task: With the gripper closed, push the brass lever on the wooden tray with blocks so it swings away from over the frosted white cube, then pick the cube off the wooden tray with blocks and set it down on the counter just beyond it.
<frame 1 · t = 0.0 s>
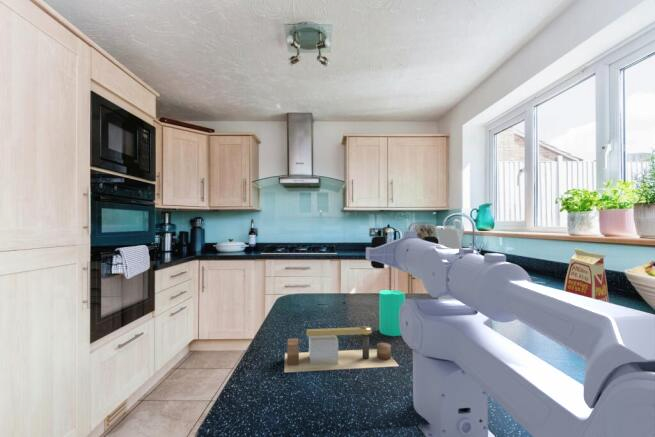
hand: (392, 247, 60), 22 cm above the countertop, tool horizontal, fingers open, 7 cm apart
milk carton: (587, 319, 87), on the countertop
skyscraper: (452, 328, 79), on the countertop
wooden tray with blocks: (339, 365, 56), on the countertop
frosted white cube: (323, 360, 56), point 1 cm above the countertop, touching wooden tray with blocks
candle: (392, 337, 72), on the countertop
lever: (339, 331, 56), point 6 cm above the countertop, hinge at 0.0°
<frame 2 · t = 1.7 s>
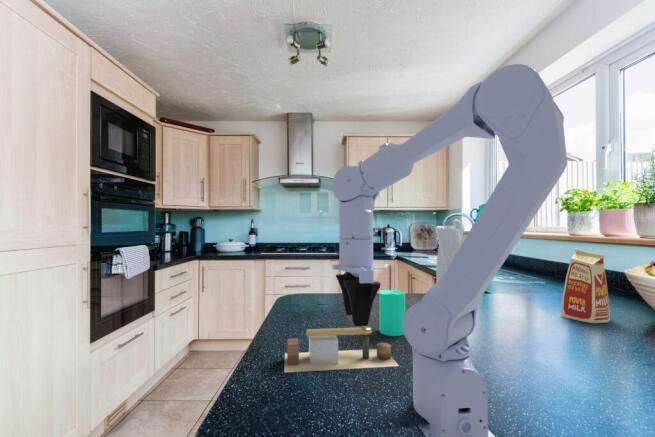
hand: (356, 319, 51), 10 cm above the countertop, tool pointing down, fingers open, 6 cm apart
nothing on the countertop moved.
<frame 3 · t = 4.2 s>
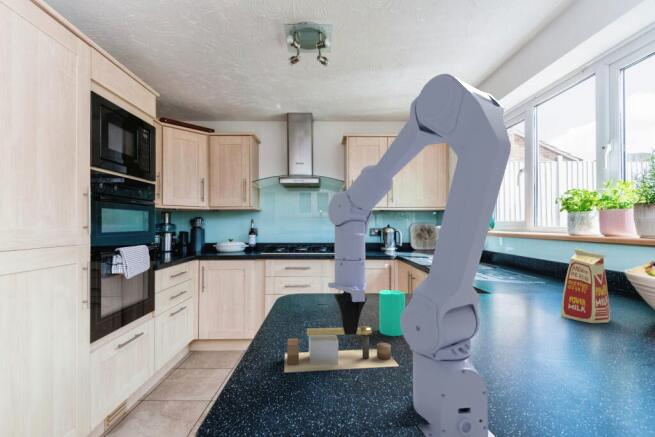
hand: (350, 333, 56), 6 cm above the countertop, tool pointing down, fingers closed, pressing on lever
lever: (339, 331, 57), point 6 cm above the countertop, hinge at 2.7°, touching gripper
everything else where it was.
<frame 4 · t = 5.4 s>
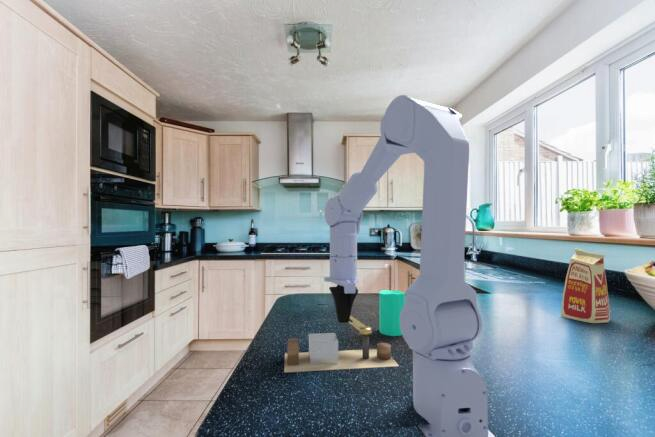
hand: (343, 322, 63), 6 cm above the countertop, tool pointing down, fingers closed, pressing on lever
lever: (355, 322, 62), point 6 cm above the countertop, hinge at 79.6°, touching gripper
everything else where it was.
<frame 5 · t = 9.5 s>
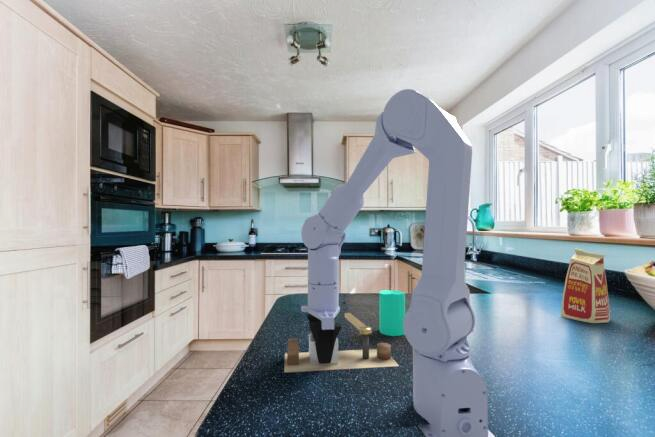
hand: (323, 357, 56), 2 cm above the countertop, tool pointing down, fingers closed on frosted white cube, 4 cm apart
frosted white cube: (323, 360, 56), point 1 cm above the countertop, touching gripper, wooden tray with blocks
lever: (356, 322, 62), point 6 cm above the countertop, hinge at 82.6°
everything else where it was.
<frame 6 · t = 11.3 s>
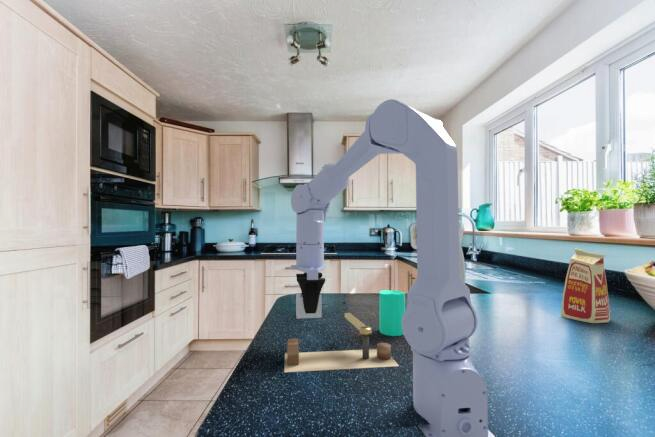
hand: (309, 310, 63), 9 cm above the countertop, tool pointing down, fingers closed on frosted white cube, 4 cm apart
frosted white cube: (308, 315, 63), point 8 cm above the countertop, touching gripper
everything else where it was.
when the fingers open (2 cm above the countertop, at t = 12.9 s): frosted white cube drops 1 cm, on the countertop.
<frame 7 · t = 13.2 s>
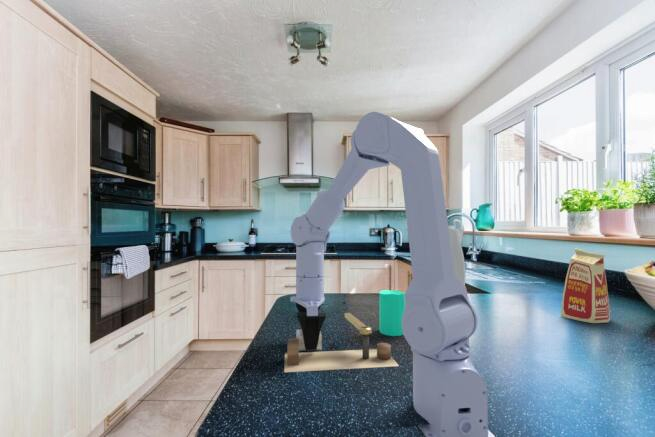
hand: (309, 342, 62), 2 cm above the countertop, tool pointing down, fingers open, 7 cm apart
frosted white cube: (308, 353, 62), on the countertop
everything else where it was.
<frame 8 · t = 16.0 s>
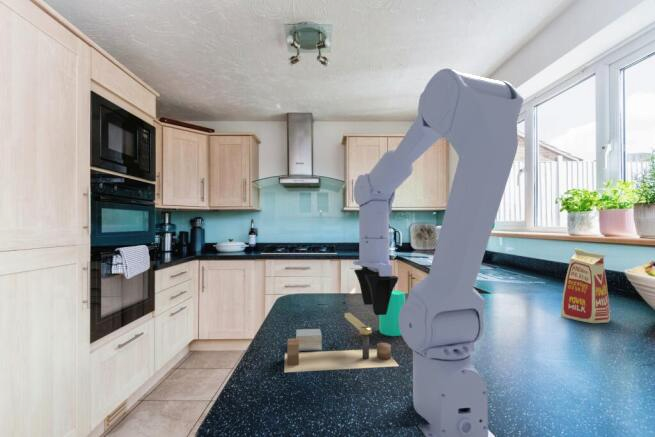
hand: (374, 309, 58), 10 cm above the countertop, tool pointing down, fingers open, 7 cm apart
nothing on the countertop moved.
at the end: lever at +83° (first picture: +0°); frosted white cube inside the target area (0.2 cm from its centre), on the countertop; frosted white cube tilted 0° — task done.
